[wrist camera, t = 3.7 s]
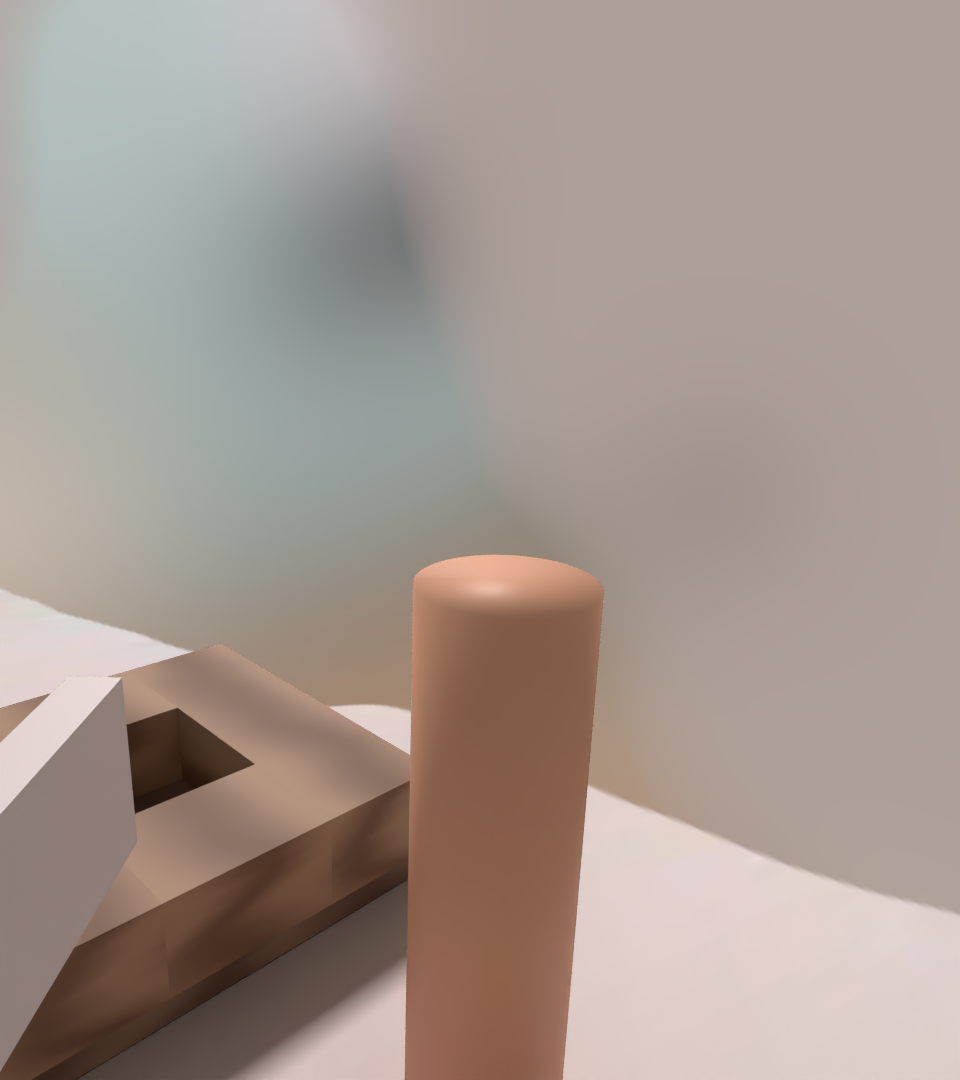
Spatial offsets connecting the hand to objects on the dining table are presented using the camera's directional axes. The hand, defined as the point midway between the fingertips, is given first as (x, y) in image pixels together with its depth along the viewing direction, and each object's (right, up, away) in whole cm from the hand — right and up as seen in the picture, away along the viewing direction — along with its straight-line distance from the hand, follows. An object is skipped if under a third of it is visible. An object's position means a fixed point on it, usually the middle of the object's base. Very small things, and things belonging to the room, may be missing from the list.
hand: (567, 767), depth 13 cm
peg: (-1, -15, +15) cm, 21 cm away
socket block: (-16, -11, +26) cm, 33 cm away
